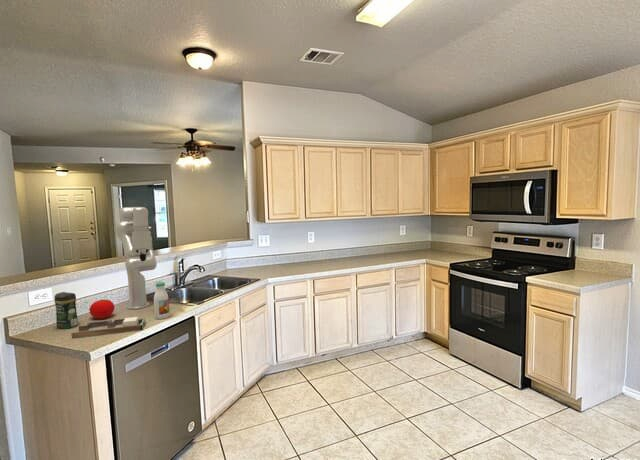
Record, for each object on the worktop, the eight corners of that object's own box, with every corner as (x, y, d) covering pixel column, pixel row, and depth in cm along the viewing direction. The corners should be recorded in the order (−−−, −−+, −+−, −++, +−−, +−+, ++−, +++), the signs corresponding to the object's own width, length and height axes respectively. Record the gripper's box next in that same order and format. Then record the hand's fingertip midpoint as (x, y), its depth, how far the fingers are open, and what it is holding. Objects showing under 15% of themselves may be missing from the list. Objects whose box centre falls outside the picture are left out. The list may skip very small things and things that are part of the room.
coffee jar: (53, 328, 185) (50, 293, 183) (69, 323, 192) (66, 290, 191) (66, 330, 182) (63, 295, 180) (81, 324, 189) (78, 291, 187)
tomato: (103, 321, 194) (102, 302, 193) (85, 320, 197) (83, 302, 196) (119, 314, 205) (117, 297, 204) (101, 313, 208) (100, 296, 207)
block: (126, 327, 184) (125, 318, 184) (138, 326, 186) (138, 316, 185) (123, 331, 178) (122, 321, 178) (136, 329, 180) (135, 320, 179)
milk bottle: (153, 320, 194) (151, 285, 192) (156, 316, 201) (153, 281, 200) (168, 318, 196) (166, 283, 194) (170, 314, 203) (168, 280, 202)
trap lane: (82, 328, 184) (81, 323, 184) (146, 320, 193) (146, 316, 193) (71, 338, 170) (71, 333, 170) (142, 329, 179) (141, 325, 179)
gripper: (156, 228, 204) (158, 259, 206) (127, 229, 200) (130, 260, 201) (154, 229, 197) (156, 261, 199) (124, 230, 192) (127, 263, 194)
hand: (143, 260), depth 200 cm, fingers closed
